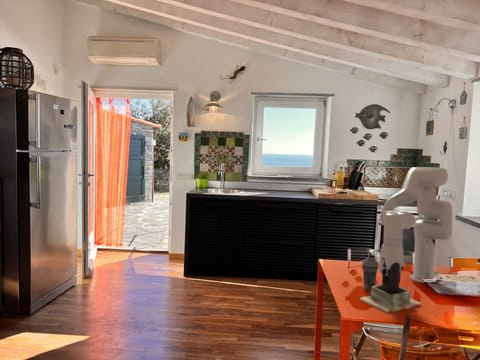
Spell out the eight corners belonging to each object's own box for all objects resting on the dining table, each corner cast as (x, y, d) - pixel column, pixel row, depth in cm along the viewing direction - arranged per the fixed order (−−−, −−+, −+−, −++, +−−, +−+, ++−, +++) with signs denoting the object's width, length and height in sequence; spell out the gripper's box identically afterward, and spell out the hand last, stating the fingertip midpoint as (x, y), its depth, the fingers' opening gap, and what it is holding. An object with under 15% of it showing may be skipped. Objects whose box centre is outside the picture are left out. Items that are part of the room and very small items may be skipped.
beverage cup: (378, 292, 171) (380, 250, 170) (362, 291, 172) (363, 249, 171) (375, 287, 178) (377, 247, 177) (360, 286, 179) (361, 245, 178)
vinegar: (385, 293, 164) (387, 249, 162) (401, 297, 159) (403, 252, 158) (379, 297, 159) (380, 252, 158) (394, 301, 154) (396, 255, 153)
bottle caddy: (392, 293, 170) (393, 280, 170) (421, 305, 157) (421, 291, 156) (360, 299, 161) (360, 286, 161) (387, 313, 148) (387, 298, 148)
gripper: (399, 238, 165) (398, 277, 166) (371, 241, 157) (369, 282, 158) (414, 242, 158) (412, 283, 159) (385, 245, 150) (383, 288, 151)
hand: (391, 282), depth 159 cm, fingers closed on vinegar, 6 cm apart
